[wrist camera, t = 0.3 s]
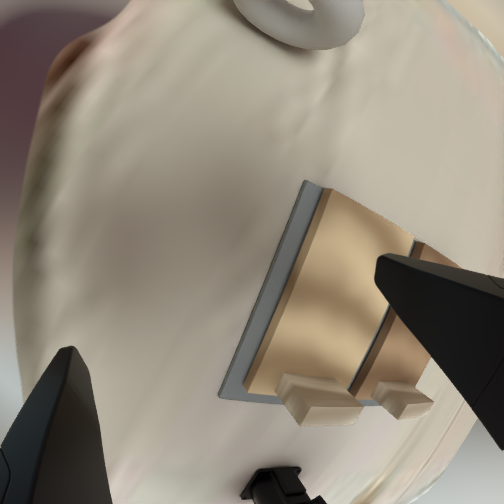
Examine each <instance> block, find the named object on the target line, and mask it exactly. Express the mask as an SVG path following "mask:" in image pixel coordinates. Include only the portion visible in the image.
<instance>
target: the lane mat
mask: <svg viewBox="0 0 504 504" xmlns="http://www.w3.org/2000/svg"><path fill="white" fill-rule="evenodd" d="M323 190H324V189H323V188H321V187H319V186H317V185H315V184H313V183H311V182H309V181H307V180H304V183H303V185H302V188H301V190H300V193H299V196H298V198H297V201H296V203H295V206H294V209H293V211H292V214H291V216H290V219H289V222H288V224H287V227H286V229H285V232H284V234H283V237H282V239H281V242H280V245H279V247H278V250H277V252H276V255H275V257H274V260H273V262H272V265H271V267H270V270H269V272H268V275H267V277H266V280H265V282H264V285H263V287H262V290H261V292H260V295H259V297H258V300H257V302H256V304H255V307H254V309H253V312H252V314H251V317H250V319H249V322H248V324H247V326H246V329H245V331H244V334H243V336H242V339H241V341H240V343H239V346H238V348H237V351H236V353H235V355H234V358H233V360H232V362H231V365H230V367H229V370H228V372H227V374H226V377H225V379H224V381H223V384H222V386H221V388H220V391H219V393H218V397H219V398H222V399H230V400H238V401H247V402H258V403H269V404H283V402H282V401H281V399H280V398H279V397H278V396H274V395H263V394H254V393H247V391H246V389H245V388H244V386H243V384H244V382H245V380H246V377H247V375H248V373H249V371H250V368H251V366H252V364H253V362H254V359H255V357H256V355H257V353H258V350H259V348H260V346H261V344H262V341H263V339H264V337H265V334H266V332H267V330H268V327H269V325H270V323H271V320H272V318H273V316H274V313H275V311H276V309H277V306H278V304H279V301H280V299H281V297H282V294H283V292H284V289H285V287H286V284H287V282H288V280H289V277H290V275H291V272H292V270H293V267H294V265H295V262H296V260H297V257H298V255H299V252H300V250H301V247H302V245H303V242H304V240H305V237H306V235H307V232H308V229H309V227H310V224H311V222H312V219H313V216H314V214H315V211H316V209H317V206H318V203H319V201H320V198H321V195H322V193H323ZM415 244H416V241H414V240H413V243H412V245H411V248H410V251H409V254H408V256H407V257H411V256H412V253H413V250H414V247H415ZM390 308H391V306H390V304H388V306H387V309H386V311H385V313H384V315H383V318H382V320H381V322H380V324H379V326H378V329H377V331H376V333H375V335H374V337H373V339H372V341H371V343H370V345H369V347H368V349H367V351H366V353H365V355H364V357H363V359H362V361H361V363H360V365H359V367H358V369H357V371H356V373H355V375H354V377H353V378H352V380H351V382H350V384H349V386H348V388H347V389H346V390H347V391H348V392H349V391H350V389H351V387H352V385H353V383H354V382H355V380H356V378H357V376H358V374H359V372H360V370H361V369H362V367H363V365H364V363H365V361H366V359H367V357H368V355H369V353H370V351H371V349H372V347H373V345H374V343H375V341H376V339H377V337H378V334H379V332H380V330H381V328H382V326H383V324H384V322H385V319H386V317H387V315H388V313H389V310H390ZM358 401H359V402H360V403H361V404H362V405H363V406H381V405H380V404H379V403H378V402H377V401H376V400H374V399H372V400H358ZM283 405H284V404H283Z"/></svg>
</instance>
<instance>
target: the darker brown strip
mask: <svg viewBox="0 0 504 504" xmlns="http://www.w3.org/2000/svg"><path fill="white" fill-rule="evenodd" d="M411 257H412V258H416V259H421V260H425V261H430V262H434V263H439V264H443V265H447V266H452V267H456V268H460V269H462V268H461V267H459V266H458V265H457V264H455V263H454V262H452V261H451V260H449V259H448V258H446V257H445V256H443V255H442V254H440V253H439V252H437V251H436V250H434V249H433V248H431V247H430V246H428V245H427V244H425V243H422V242H418V241H417V242H416V244H415V247H414V250H413V253H412V256H411ZM430 358H431V356H430V355H429V353H428V352H427V351H426V350H425V348H424V347H423V346H422V345H421V344H420V342H419V341H418V340H417V339H416V338H415V336H414V335H413V334H412V333H411V332H410V330H409V329H408V328H407V327H406V326H405V325H404V323H403V322H402V321H401V320H400V318H399V317H398V316H397V314H396V313H395V311H394V310H393V309H392V307H391V308H390V310H389V313H388V315H387V317H386V319H385V322H384V324H383V326H382V328H381V330H380V332H379V334H378V337H377V339H376V341H375V343H374V345H373V347H372V349H371V351H370V353H369V355H368V357H367V359H366V361H365V363H364V365H363V367H362V369H361V370H360V372H359V374H358V376H357V378H356V380H355V382H354V383H353V385H352V387H351V389H350V391H349V393H350V394H351V395H352V396H353V397H354V398H355V399H357V400H372V399H374V400H376V401H377V402H378V403H379V404H380V405H381V406H382V407H384V408H385V409H386V410H387V411H388V412H389V413H390V414H392V415H393V416H394V417H395V418H396V419H397V420H401V419H408V418H415V417H421V416H426V414H427V413H428V411H429V410H430V408H431V406H432V405H433V403H434V401H432V400H431V399H430V398H428V397H427V396H426V395H424V394H423V393H421V392H420V391H419V390H417V389H416V388H415V386H416V384H417V382H418V380H419V379H420V377H421V375H422V373H423V371H424V369H425V367H426V366H427V364H428V362H429V360H430Z"/></svg>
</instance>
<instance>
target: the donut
mask: <svg viewBox="0 0 504 504" xmlns="http://www.w3.org/2000/svg"><path fill="white" fill-rule="evenodd" d="M233 1H234V3H235V5H236V7H237V8H238V10H239V11H240V12H241V13H242V14H243V16H244V17H245V18H246V19H247V20H248V21H249V22H250V23H252V24H253V25H254V26H256V27H257V28H258V29H259V30H261V31H262V32H264V33H266V34H267V35H269V36H271V37H273V38H275V39H276V40H278V41H281V42H284V43H286V44H289V45H291V46H295V47H300V48H304V49H310V50H328V49H332V48H335V47H339V46H342V45H345V44H346V43H347V42H348V41H350V40H351V39H352V38H353V37H354V36H355V35H356V34H357V33H358V32H359V30H360V27H361V24H362V21H363V19H364V15H365V13H364V6H363V0H309V1H310V3H311V4H312V6H313V8H314V10H312V11H309V10H303V9H301V8H298V7H296V6H294V5H292V4H290V3H288V2H287V1H286V0H233Z"/></svg>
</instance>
